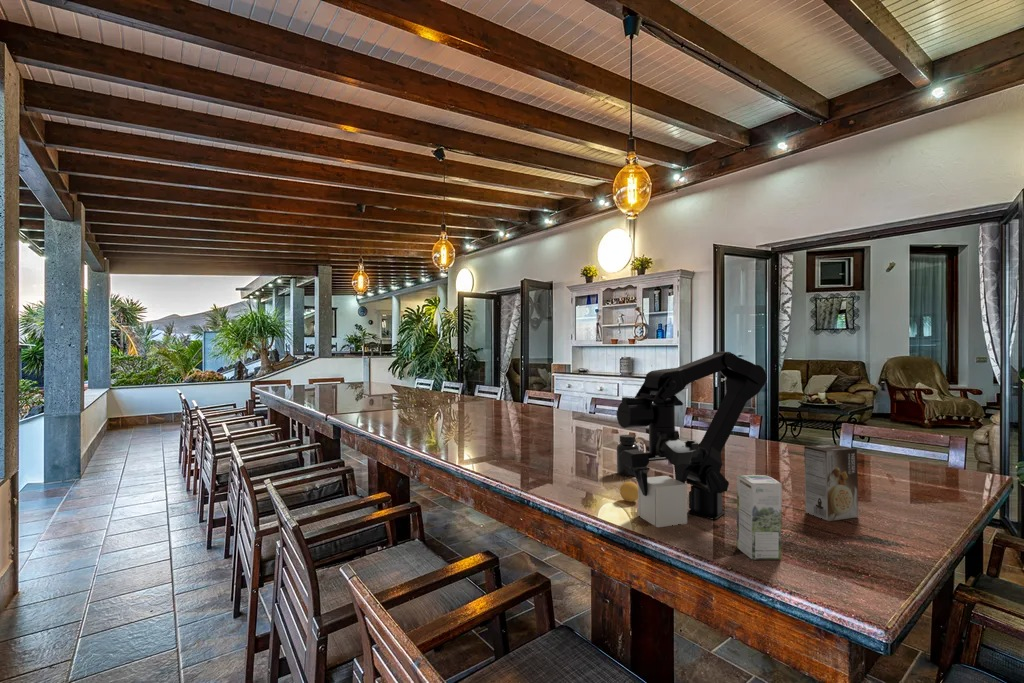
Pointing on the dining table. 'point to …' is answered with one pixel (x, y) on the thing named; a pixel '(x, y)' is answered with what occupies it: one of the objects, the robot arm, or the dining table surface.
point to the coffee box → (831, 482)
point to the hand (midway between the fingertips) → (662, 493)
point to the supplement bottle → (625, 444)
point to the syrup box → (759, 516)
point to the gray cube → (663, 502)
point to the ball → (629, 491)
